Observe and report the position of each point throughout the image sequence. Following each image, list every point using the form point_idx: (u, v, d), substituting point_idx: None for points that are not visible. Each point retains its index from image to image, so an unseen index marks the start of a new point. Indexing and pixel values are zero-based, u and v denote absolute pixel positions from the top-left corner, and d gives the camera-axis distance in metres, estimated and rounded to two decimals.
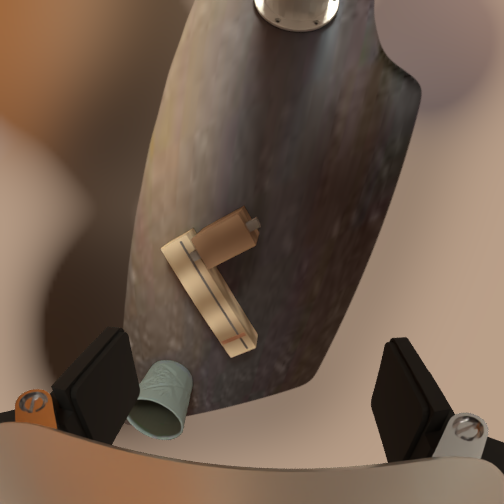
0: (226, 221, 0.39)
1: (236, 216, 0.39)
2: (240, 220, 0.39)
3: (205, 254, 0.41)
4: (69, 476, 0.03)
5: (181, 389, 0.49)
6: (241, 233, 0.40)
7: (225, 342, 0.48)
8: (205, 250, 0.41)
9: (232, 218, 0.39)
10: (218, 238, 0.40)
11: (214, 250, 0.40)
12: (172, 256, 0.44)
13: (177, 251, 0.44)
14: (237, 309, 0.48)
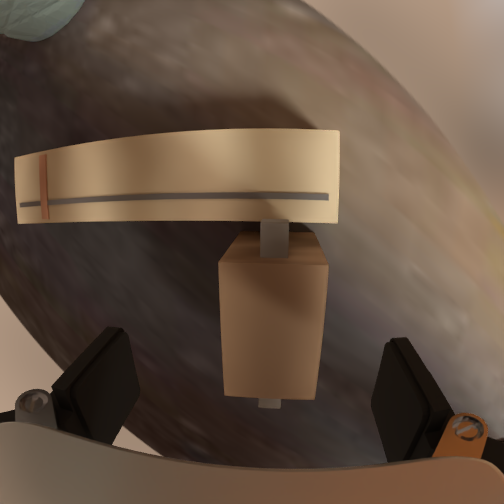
0: (314, 372, 0.14)
1: (311, 394, 0.14)
2: (297, 397, 0.14)
3: (265, 280, 0.13)
4: (69, 476, 0.03)
5: (1, 24, 0.12)
6: (267, 385, 0.14)
7: (41, 163, 0.16)
8: (276, 287, 0.13)
9: (312, 386, 0.14)
10: (287, 336, 0.14)
11: (262, 309, 0.13)
12: (300, 149, 0.14)
13: (307, 171, 0.15)
14: None
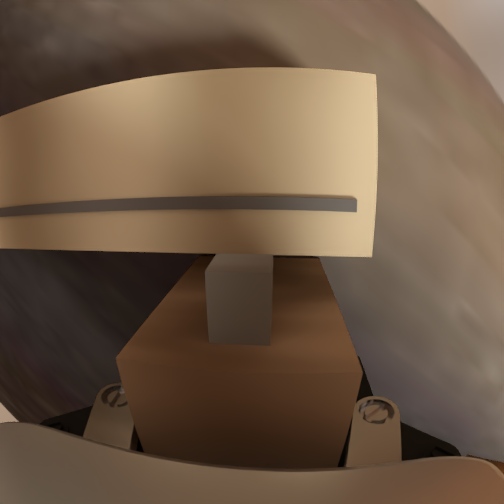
0: None
1: None
2: None
3: (217, 400, 0.05)
4: (69, 476, 0.03)
5: None
6: None
7: None
8: (242, 412, 0.05)
9: None
10: None
11: (217, 443, 0.06)
12: (299, 108, 0.07)
13: (314, 152, 0.07)
14: None
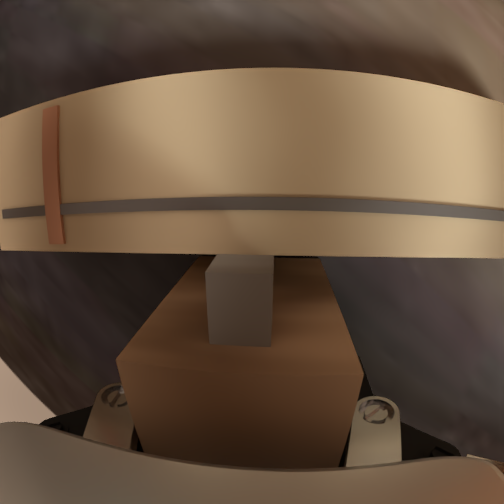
0: None
1: None
2: None
3: (217, 402, 0.05)
4: (69, 476, 0.03)
5: None
6: None
7: (47, 126, 0.07)
8: (242, 414, 0.05)
9: None
10: None
11: (217, 444, 0.06)
12: None
13: None
14: None
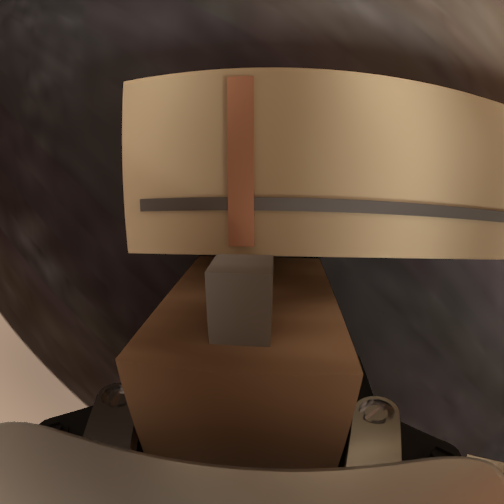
0: None
1: None
2: None
3: (217, 402, 0.05)
4: (69, 476, 0.03)
5: None
6: None
7: (233, 99, 0.07)
8: (242, 414, 0.05)
9: None
10: None
11: (217, 444, 0.06)
12: None
13: None
14: None
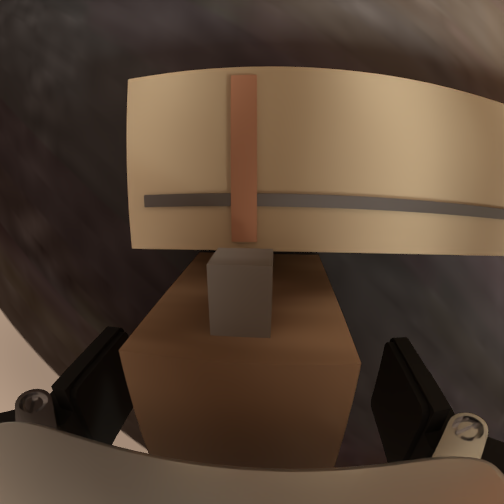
0: None
1: None
2: None
3: (218, 392, 0.06)
4: (69, 476, 0.03)
5: None
6: None
7: (236, 97, 0.07)
8: (243, 403, 0.06)
9: None
10: None
11: (218, 435, 0.06)
12: None
13: None
14: None
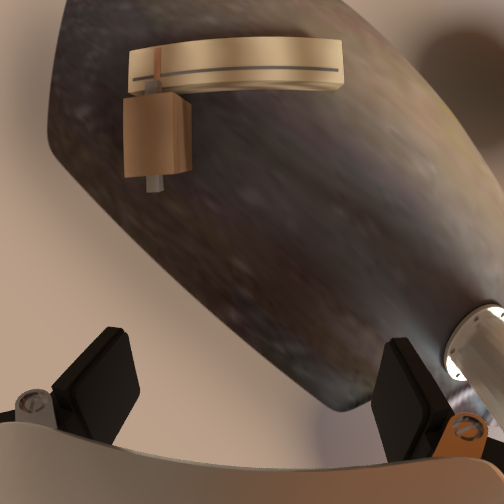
0: (171, 153, 0.25)
1: (171, 170, 0.25)
2: (164, 172, 0.25)
3: (143, 103, 0.23)
4: (69, 476, 0.03)
5: None
6: (147, 165, 0.25)
7: (156, 53, 0.25)
8: (148, 105, 0.23)
9: (171, 163, 0.25)
10: (155, 131, 0.24)
11: (142, 118, 0.24)
12: (322, 47, 0.24)
13: (326, 58, 0.24)
14: (195, 89, 0.28)
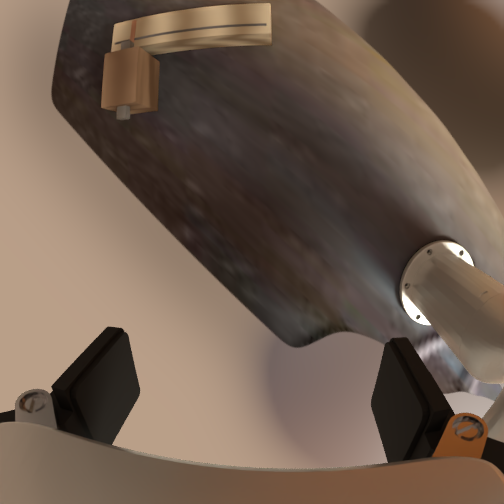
0: (134, 87, 0.30)
1: (133, 99, 0.30)
2: (128, 101, 0.30)
3: (118, 55, 0.29)
4: (69, 476, 0.03)
5: None
6: (117, 98, 0.30)
7: (132, 24, 0.30)
8: (121, 56, 0.29)
9: (134, 94, 0.30)
10: (124, 73, 0.29)
11: (117, 65, 0.29)
12: (254, 10, 0.29)
13: (257, 16, 0.29)
14: (161, 49, 0.33)
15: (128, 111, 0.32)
